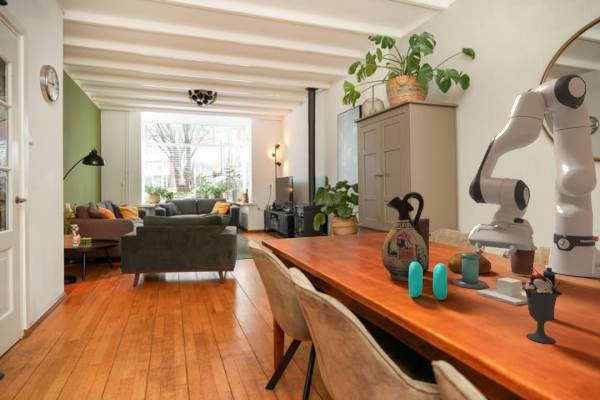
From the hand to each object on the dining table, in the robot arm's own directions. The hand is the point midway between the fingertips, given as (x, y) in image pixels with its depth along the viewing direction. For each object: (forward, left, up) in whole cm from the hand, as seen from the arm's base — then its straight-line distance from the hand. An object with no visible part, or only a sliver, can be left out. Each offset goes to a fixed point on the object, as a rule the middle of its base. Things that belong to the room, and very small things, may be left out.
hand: (491, 255), depth 122 cm
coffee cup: (-16, 0, -8) cm, 18 cm away
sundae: (+36, +38, -8) cm, 53 cm away
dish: (+13, +2, -8) cm, 15 cm away
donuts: (+36, +7, -8) cm, 37 cm away
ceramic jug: (+26, -13, -8) cm, 30 cm away
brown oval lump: (-5, -13, -9) cm, 16 cm away
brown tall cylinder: (+14, -20, -8) cm, 26 cm away
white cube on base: (+14, +16, -8) cm, 22 cm away
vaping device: (+22, +30, -8) cm, 38 cm away
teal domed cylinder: (+13, +2, -7) cm, 15 cm away
